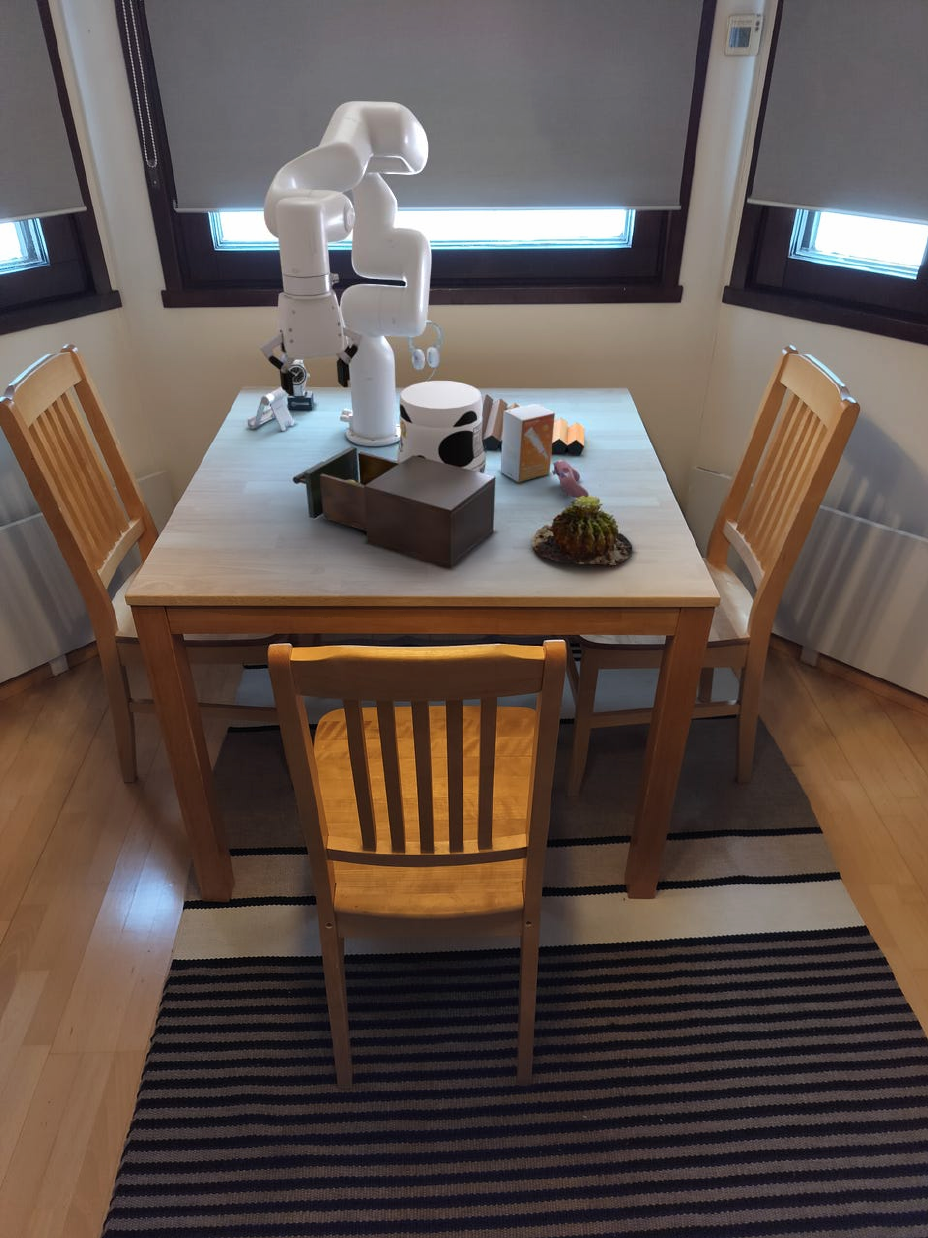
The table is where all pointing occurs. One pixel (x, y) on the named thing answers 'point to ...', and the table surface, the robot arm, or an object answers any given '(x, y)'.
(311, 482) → the drawer
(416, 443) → the milk container
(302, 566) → the table surface
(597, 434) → the table surface
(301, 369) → the watch
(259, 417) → the tablet stand
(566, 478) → the video game controller
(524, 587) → the table surface
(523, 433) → the small box
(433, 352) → the headphones
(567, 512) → the cactus
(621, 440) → the table surface
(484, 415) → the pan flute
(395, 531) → the cabinet
